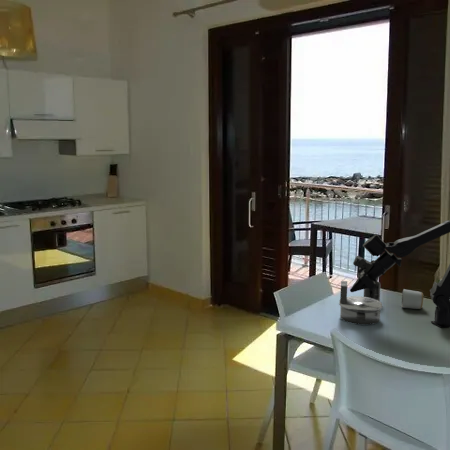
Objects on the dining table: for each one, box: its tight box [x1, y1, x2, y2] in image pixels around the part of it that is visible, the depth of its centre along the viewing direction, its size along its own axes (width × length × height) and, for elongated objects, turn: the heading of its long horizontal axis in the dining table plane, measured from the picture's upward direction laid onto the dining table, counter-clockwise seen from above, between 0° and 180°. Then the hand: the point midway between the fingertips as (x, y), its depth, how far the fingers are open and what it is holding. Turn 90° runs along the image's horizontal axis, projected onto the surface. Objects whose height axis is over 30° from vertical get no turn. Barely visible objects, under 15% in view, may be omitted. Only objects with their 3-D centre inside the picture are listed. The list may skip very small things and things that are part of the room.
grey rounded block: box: [400, 288, 424, 310], centre depth 215 cm, size 11×8×8 cm
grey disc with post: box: [338, 280, 383, 312], centre depth 199 cm, size 16×16×8 cm
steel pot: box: [339, 306, 381, 326], centre depth 200 cm, size 15×25×5 cm, turn 167°
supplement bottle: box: [363, 278, 381, 302], centre depth 220 cm, size 7×7×12 cm
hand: (350, 291), depth 200 cm, fingers closed
